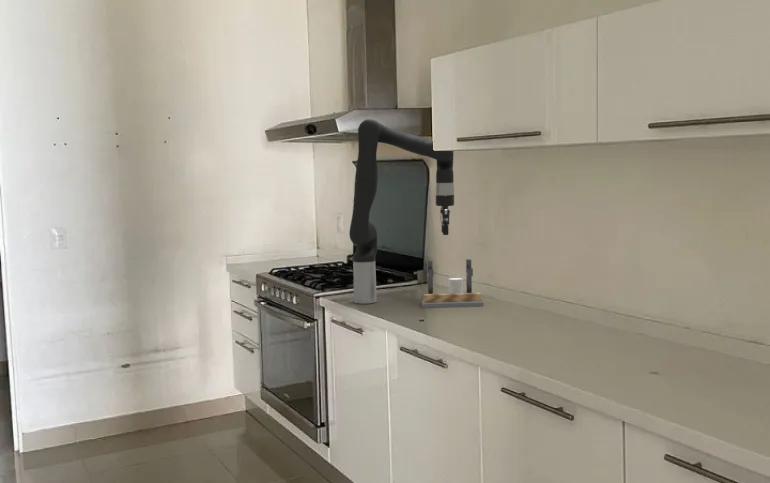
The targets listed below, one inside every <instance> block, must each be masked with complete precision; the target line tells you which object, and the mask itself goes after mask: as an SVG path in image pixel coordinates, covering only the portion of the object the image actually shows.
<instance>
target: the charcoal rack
mask: <svg viewBox="0 0 770 483" xmlns="http://www.w3.org/2000/svg"><path fill="white" fill-rule="evenodd" d="M426 263H427V267H426V268H427V269H426V270H427V294H434V285H433V284H434V283H433V282H434V280H433V278H434V269H433V260H426ZM473 271H474V269H473V268H472V258H471V259H469V258H468V259H465V273H466V274H465V279H466V280H465V282H466V283H465V284H466V286H465V288H466V292H465V293H473V292H472V291H473V287H472V286H473V284H472V280H473V279H472V277H473V276H474V272H473Z"/></svg>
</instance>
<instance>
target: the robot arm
mask: <svg viewBox="0 0 770 483" xmlns="http://www.w3.org/2000/svg"><path fill="white" fill-rule="evenodd" d="M357 135H358V136H357V138H358V140H357V141H358V145H357V146H358V154H357V155H358V156H357V161H356V167H355V174H354V186H353V190H354V191H353V192H354V193H353V202H352V203H353V206H352V214H351V215H352V216H351V221H350V227H349V232H348V233H349V238H350V240H351V243H352V244H354V246H356V249H355V252H354V253H353V256H352V266H353V270H352V271H353V303H354V304H362V305H364V304H365V305H366V304H373V303H377V275H376V274H377V273H376V271H377V268H376V257H377V256H376V255H377V254H378V253H377V252H378V233H377V228H376V227H375V225H374V224H373V223H372V222H370V212H371V210H372V206H373V203H374V201H375V198H376V195H377V191H378V182H379V181H378V179H379V178H378V177H379V176H378V175H379V174H378V173H379V172H378V171H379V170H378V163H377V150H378V146H379V145H378V143H380V144H388V145H391V146H394V147H397V148H399V149H401V150H403V151H407V152H409V153H412V154H416V155H419V156H423V157H427V158H430V159H434V160H436V173H435V175H436V176H435V206H436V207H440V210H439V217H440V218H439V219H440V223H441V233H442V235H443V236H448V235H449V225H450V220H451V216H450V215H451V211H450V209H449V207H451V206H452V207H453V206H455V185H454V184H455V183H454V178H455V177H454V154H455V153H454V150H453V151H434V150H433V141H434V140H431V139H429V138H425V137H422V136H419V135H416V134H412V133H407V132H402V131H400V130H399V131H398V130H396V129H393V128H391V127H389V126H385V125H384V124H382V123H380V122H379V121H378V120H375V119H367V118H366V119H365V120H363V121H361V123H360V124H359V126H358V128H357Z"/></svg>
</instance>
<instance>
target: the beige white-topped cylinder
mask: <svg viewBox="0 0 770 483" xmlns="http://www.w3.org/2000/svg"><path fill="white" fill-rule="evenodd" d="M464 280H465V279H464V278H463V277H449V278H448V279H447V282H448V293H464Z"/></svg>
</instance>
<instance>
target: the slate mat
mask: <svg viewBox="0 0 770 483" xmlns="http://www.w3.org/2000/svg"><path fill="white" fill-rule="evenodd" d="M469 306H471V307H484V302H483V300H482V299H481V301H473V302H436V303H423V299H422V300H421V307H422V308H423V309H424V308H425V309H427V308H428V309H429V308H430V309H431V308H432V309H433V308H461V307H462V308H463V307H464V308H466V307H467V308H470V307H469Z"/></svg>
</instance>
